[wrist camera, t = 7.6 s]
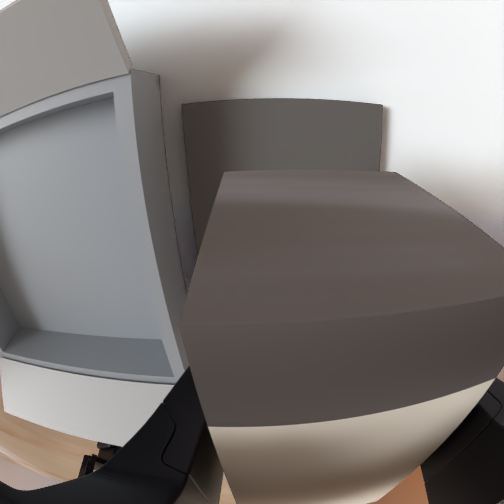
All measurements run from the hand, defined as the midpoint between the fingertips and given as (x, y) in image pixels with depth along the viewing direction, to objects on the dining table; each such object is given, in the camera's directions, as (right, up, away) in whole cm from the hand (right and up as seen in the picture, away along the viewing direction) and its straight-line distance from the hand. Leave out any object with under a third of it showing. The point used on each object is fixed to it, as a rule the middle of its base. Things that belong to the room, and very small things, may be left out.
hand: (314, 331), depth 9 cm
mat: (0, +4, +8) cm, 9 cm away
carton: (-15, +3, +8) cm, 17 cm away
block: (0, 0, +1) cm, 1 cm away
